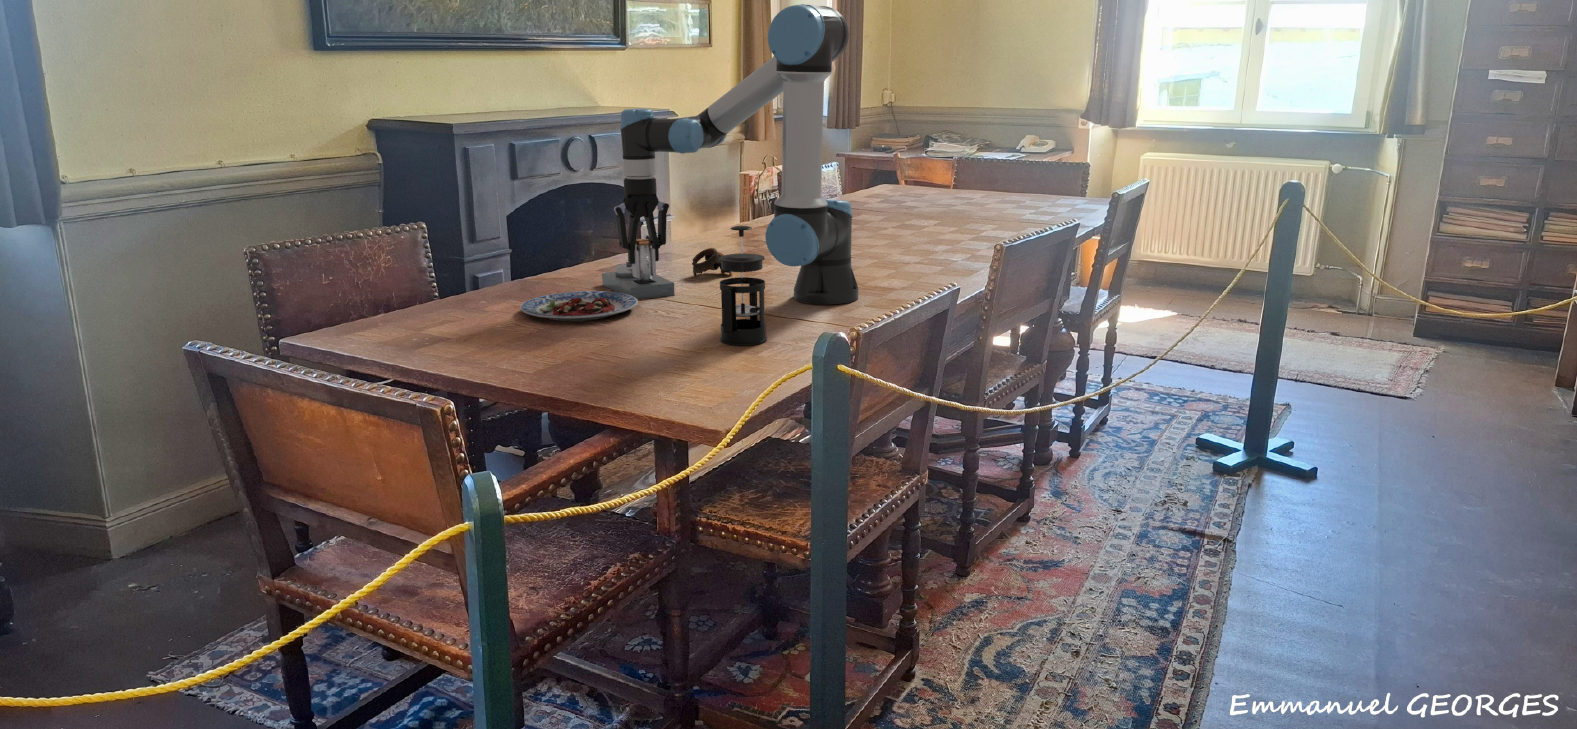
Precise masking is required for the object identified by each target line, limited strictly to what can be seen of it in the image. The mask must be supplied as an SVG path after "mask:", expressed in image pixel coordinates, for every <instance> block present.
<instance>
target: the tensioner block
mask: <svg viewBox="0 0 1577 729" xmlns="http://www.w3.org/2000/svg"><path fill="white" fill-rule="evenodd" d="M614 268H615V270H614V271H610V272H601V280H602V281H601V282H602V286H604V287H605V288H607V289H609V290H611V291H612V292H617V293H623V294H627V295H631V296H633V297H635V298H636V299H637V300H638V301H640V300H644V299H645V300H646V299H653V298H662V297H672V296H675V282H673V281H671V280H669V279H666V278H665V277H662V276H660V275H658V274H656V276H652V283H646V284H637V278H635V277H633V272H632V264H630V263H629V262H628V261H626V262H625V263H622V264H618V265H615V266H614Z"/></svg>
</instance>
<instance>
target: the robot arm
mask: <svg viewBox="0 0 1577 729" xmlns="http://www.w3.org/2000/svg"><path fill="white" fill-rule="evenodd" d="M849 38H850V30H849V26H848V22H847V20H846V18H845V17H844V16H843V15H842V14H841V13H840V12H839V11H838V10H837V9H834V8H833V7H829V6H828V5H827V6H826V5H814V4H812V5H811V4H805V3H801V4H793V5H790V6H787V7H784V8H782V9H781V10H780V11H779V12H778V13H777V14H776V15H775V16H774V17H773V19H772V21H771V23H770V24H769V27H768V32H767V43H768V47H769V50H770V52H771V53H772V55H773V56H772V57H771V58H770V59H769V60H766V61H765V63H763V64H761V65H760V66H759V67H758V68H757V69H755V70H754V71H753V72H751V73H750V74H749V75H747V76H746V77H745V78H744V79H742V80H741V81H740V82H739V83H737V84H736V85H735V86H733V87H732V88H731V89H730V90H728V91H727V92H726V93H724V94H722V96H721V97H719V98H718V99H716V100H715V101H714V102H712V104H710V105H709V106H708V107H706V108H705V109H703V111H701V112H700V113H698V114H697V115H694V116H686V117H685V116H684V117H677V118H657V117H655V115H654V111H653V110H652V109H650V108H627V109H624V110H622V111H621V113H620V128H619V129H620V135H621V136H620V137H621V146H622V171H623V172H622V173H623V176H624V177H625V178H624V179H623V193H624V198H623V200H622V203H621V204H619V205H614V206H613V207H612V211H613V212H614V215H615V217H616V218H615V219H616V227H617V234H618V235H617V236H618V243H619V244H618V246H620V248H622V249H625V250H627V262H629V263H630V264H632V272H633V277H635V278H640V273H639V252H638V250H636V240H637V239H638V237H637V236H638V228H639V223H640V218H644V220H645V224H646V230H647V233H648V234H647V235H648V239H650V247H651V269H652V276H656V275H657V264H656V262H659V260H660V257H659V256H660V252H659V250H660V248H661V247H662V246H665V245H666V244H667V218H668V215H667V214H668V210H669V208H670V204H669V203H667V202H664V201H663V202H662V201H660V200H659V198H658V196H657V195H658V194H657V190H658V188H657V178H656V177H655V176H656V175H657V170H656V169H657V167H656V153H657V152H658V153H659V152H662V153H676V154H678V153H679V154H681V155H682V154H683V155H684V154H691V153H693V154H694V153H697V152H698V151H699V150H700V149H708V148H709V149H710V148H714V147H716V146H719V145H720V144H722V143H723V142H724V141H725V139H726V137H727V135H728V134H729V133H731V131H733V130H734V129H735V128H737V127H738V126H740V125H741V124H743V123H744V122H745V121H746V120H747V119H749V118H750V117H752V116H753V115H754V114H756V113H758V111H760V110H761V109H762V108H764V107H765V106H767V105H768V104H769V103H771V102H772V101H773V100H775V99H776V98H777V97H779V96H780V95H781V94H782V144H781V145H782V146H781V148H782V149H781V150H782V151H781V153H782V154H781V194H780V196H779V197H778V198H777V199H776V200H775V201H774V206H773V208H774V210H773V211H774V212H773V213H774V215H773V218H772V220H771V221H770V222H769V223H768V225H767V227H766V230H765V244H766V247H767V249H768V252H769V253H770V255H771V256H773V258H774V259H775V260H776V261H777V262H778V263H780V264H781V265H783V266H787V267H792V268H793V267H794V268H795V267H800V268H799V271H798V274H797V276H796V277H797V278H796V280H795V284H794V287H793V299H794V300H795V301H797V302H801V303H805V304H811V305H841V304H847V303H852V302H855V301H857V300H858V299H859V287H858V286H859V285H858V283H857V279H856V277H855V274H854V270H853V268H852V234H853V232H852V231H853V230H852V228H853V227H852V225H853V224H852V222H853V214H852V205H851V203H850V202H849V201H847V200H838V199H825V198H824V197H823V195H822V172H823V171H822V169H823V168H822V166H823V137H824V136H823V134H824V133H823V132H824V99H825V98H824V96H825V81H826V80H827V78H829V77H830V76H831V75H832V73H833V72H832V70H833V62H835V61H836V60H837V59H838V58H839V57H840V56H842V55H843V53H844V52H845V50H846V48H847V46H848V44H849ZM656 208H657V210H658V212H657V228H656V224H655V216H654V212H655V210H656ZM625 210H627V212H628V213H629V218H628V219H629V224H628V225H629V226H628V233H627V227H626V218H625V213H626V211H625ZM656 229H657V230H656Z"/></svg>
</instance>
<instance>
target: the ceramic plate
mask: <svg viewBox="0 0 1577 729" xmlns="http://www.w3.org/2000/svg"><path fill="white" fill-rule="evenodd" d="M638 304H639V300H637V299H636V298H635V297H633V296H631V295H627V294H623V293H617V292H615V291H607V290H604V291H602V290H601V291H600V290H579V291H566V292H559V293H558V292H557V293H551V294H545V295H541V296H537V297H534V298H531V299H529V300H526V301H524V302H523V303H522V304H521V305H520V310H521V311H522V312H523V313H525V314H526V315H529V316H532V317H539V318H545V319H547V318H549V319H548V320H552V319H553V321H559V320H561V322H585V321H594V320H600V319H604V318H609V317H612V316H615V315H616V314H619V313H620V314H621V313H624V312H626V311H629V310H631V309H633V308H635V307H636V306H637V305H638Z"/></svg>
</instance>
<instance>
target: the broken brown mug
mask: <svg viewBox="0 0 1577 729" xmlns="http://www.w3.org/2000/svg"><path fill="white" fill-rule="evenodd" d="M724 255H725V254H723V253H722V252H720V251H717V249H716V248H715V247H709V248H705V249H703V250H701V251H699V252H698V253H697V254H696V255H695V256H694V257H693V258H692V262H691V265H692V266H693V267H692V273H693V276H694V278H696V277H697V274H702V273H705V272H707V271H717V270H718V269H720V273H721V274H724V273H725V274H728V275H729V277H730V278H732V276H733V272H729V271H724V270H722V264H721V261H720V260H719V257H721V256H724ZM703 258H704V261H702V262H699V261H700V260H702V259H703Z"/></svg>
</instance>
